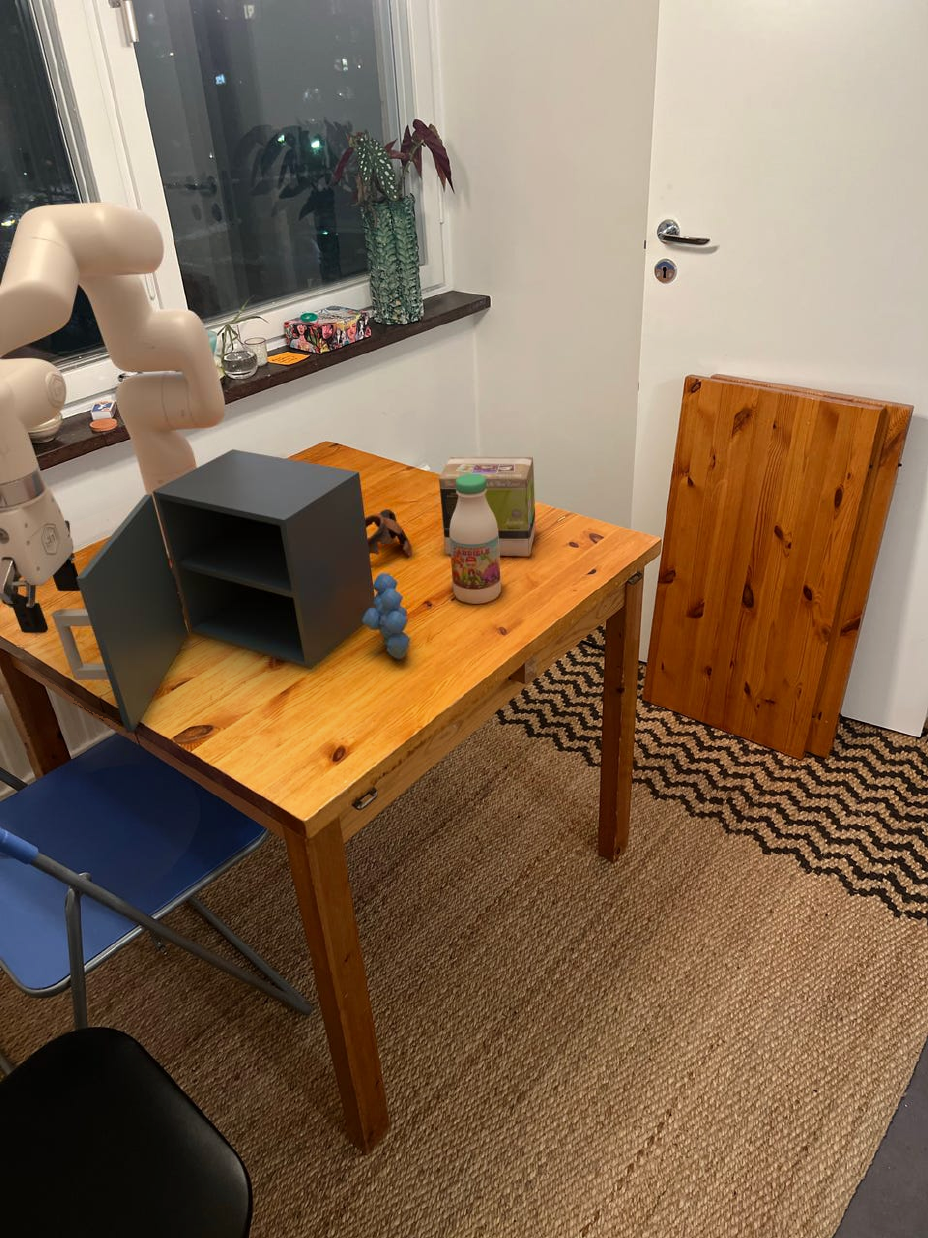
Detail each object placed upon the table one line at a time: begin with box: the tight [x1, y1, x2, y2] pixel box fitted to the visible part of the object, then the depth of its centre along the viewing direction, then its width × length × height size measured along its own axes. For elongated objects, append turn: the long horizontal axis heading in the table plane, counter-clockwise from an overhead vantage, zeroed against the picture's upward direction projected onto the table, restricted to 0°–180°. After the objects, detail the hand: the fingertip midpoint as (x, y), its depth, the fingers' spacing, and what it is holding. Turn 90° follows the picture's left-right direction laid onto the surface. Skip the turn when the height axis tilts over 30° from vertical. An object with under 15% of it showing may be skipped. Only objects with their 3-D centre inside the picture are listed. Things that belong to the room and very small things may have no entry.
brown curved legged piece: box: [365, 508, 413, 558], centre depth 161 cm, size 12×10×8 cm
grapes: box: [362, 573, 411, 660], centre depth 132 cm, size 12×7×12 cm, turn 16°
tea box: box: [438, 456, 536, 557], centre depth 158 cm, size 15×10×15 cm, turn 80°
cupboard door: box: [51, 493, 189, 734], centre depth 126 cm, size 8×24×24 cm, turn 177°
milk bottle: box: [450, 473, 502, 605], centre depth 142 cm, size 8×8×20 cm
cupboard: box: [153, 448, 376, 670], centre depth 137 cm, size 17×24×24 cm
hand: (53, 610), depth 116 cm, fingers open, 9 cm apart
